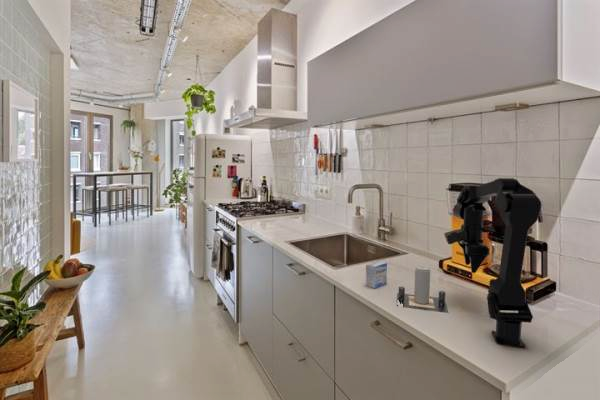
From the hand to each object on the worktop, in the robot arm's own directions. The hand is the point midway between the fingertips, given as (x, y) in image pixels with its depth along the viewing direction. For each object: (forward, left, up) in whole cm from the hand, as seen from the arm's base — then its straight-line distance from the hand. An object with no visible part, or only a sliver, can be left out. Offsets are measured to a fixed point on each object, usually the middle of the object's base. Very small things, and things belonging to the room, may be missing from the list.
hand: (470, 268), depth 111 cm
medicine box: (+7, +31, -12) cm, 34 cm away
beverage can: (-5, +15, -12) cm, 20 cm away
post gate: (-5, +15, -13) cm, 20 cm away
